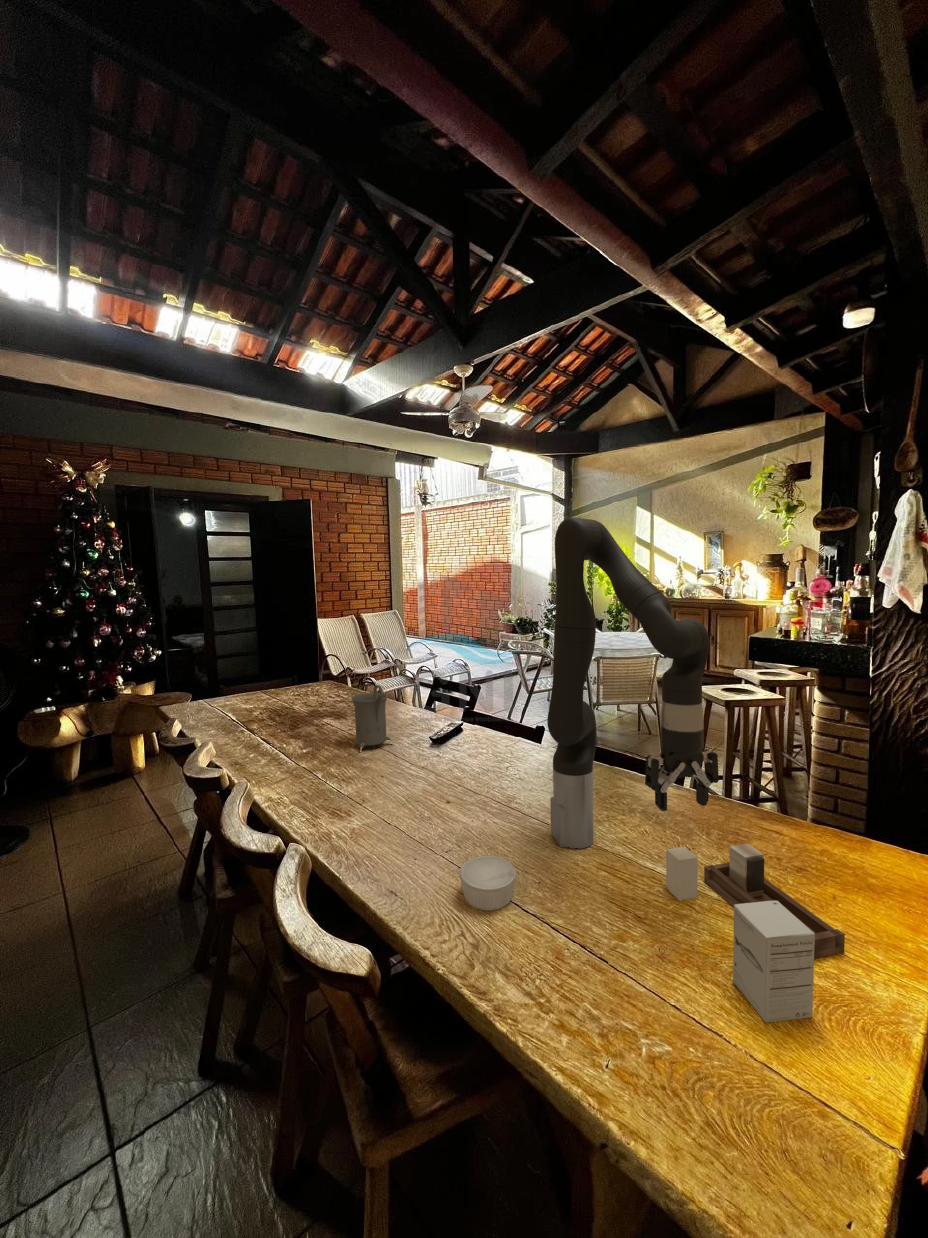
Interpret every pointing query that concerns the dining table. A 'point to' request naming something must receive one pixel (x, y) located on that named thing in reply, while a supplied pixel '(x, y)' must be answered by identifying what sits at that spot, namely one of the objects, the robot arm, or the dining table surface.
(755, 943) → the supplement box
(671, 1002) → the dining table surface
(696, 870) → the grey upright block
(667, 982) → the dining table surface
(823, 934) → the rail
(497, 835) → the dining table surface
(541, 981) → the dining table surface
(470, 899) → the ramekin
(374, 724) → the grey footed pot
